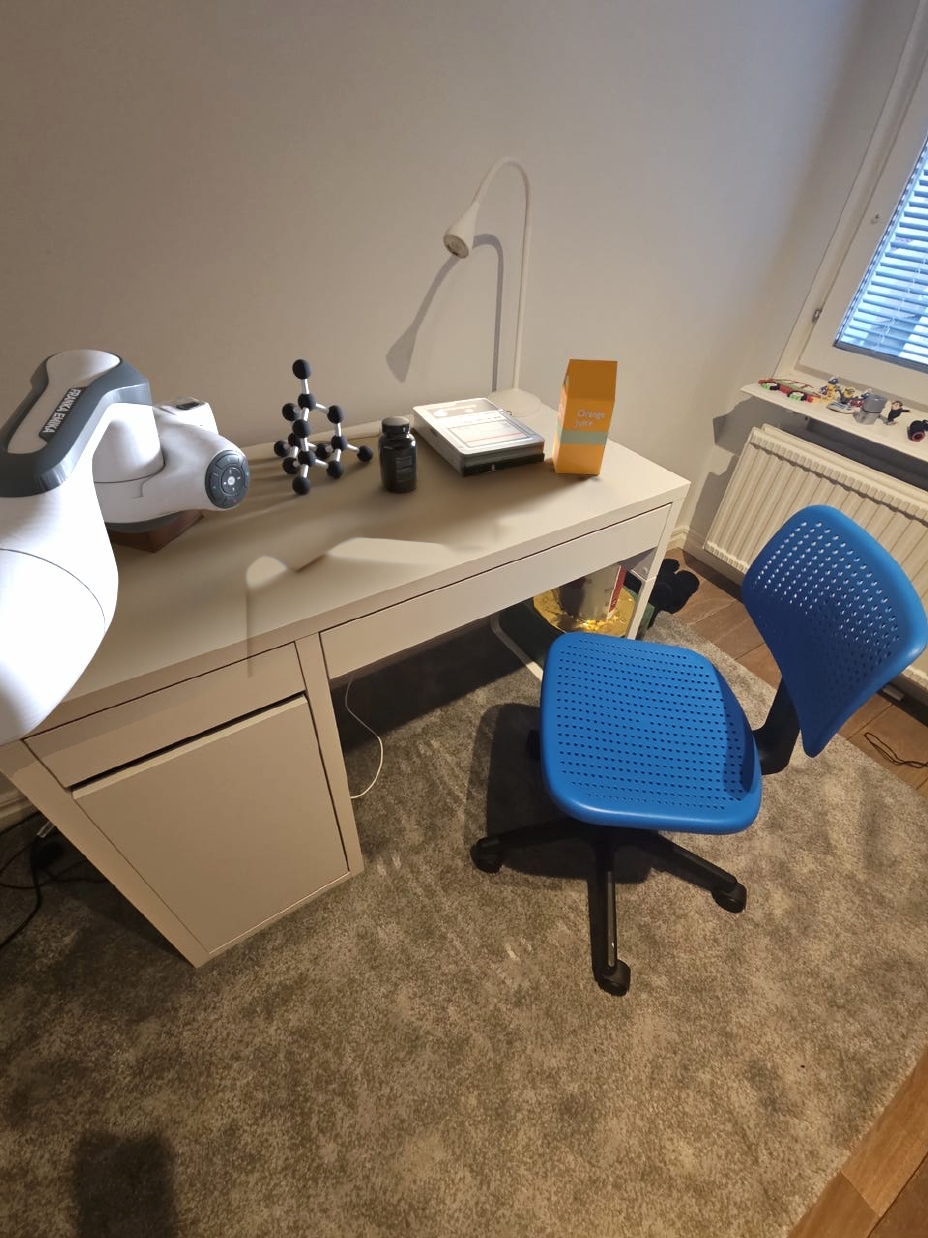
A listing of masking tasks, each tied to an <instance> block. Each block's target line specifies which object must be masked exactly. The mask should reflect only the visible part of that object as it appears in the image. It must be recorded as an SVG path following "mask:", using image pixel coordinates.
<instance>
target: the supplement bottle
mask: <svg viewBox="0 0 928 1238" xmlns="http://www.w3.org/2000/svg"><path fill="white" fill-rule="evenodd" d="M410 432H411V428H410V420H409V419H408V418H406V417H403V416H388V417H385V418H383V419H382V420H381V435H380V436H379V437H378V440H377V444H376V445H377V455H378V469H379V476H380V477H379V478H380V485H381V487H382V488H383V489H384V490H385V491H387V492H389V493H398V494H401V493H407V492H410V491H412V490H414V489H415V488H416V487H417V484H418V460H417V440H416V438H415V436H413V435H412V434H411V433H410Z"/></svg>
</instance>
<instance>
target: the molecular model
mask: <svg viewBox="0 0 928 1238" xmlns="http://www.w3.org/2000/svg"><path fill="white" fill-rule="evenodd" d="M291 370H292V373H293V375H294V377H295V378H296V379H298V380H300V385H301V391H302V392H300V394H298V397H297V404H295V403H293V402H287V403H285V404H284V405H283V406H282V409H281V414H282V417H283V418H284V419H285V420H286V421H287V422H290V423H289V424H290V427H291V433H289V435H288V437H287V441H286V440H282V439H280V440H277V441H276V442H275V443H274V444H273V452H274V454H275V455H276V456H277V457H279V458H284V459H283V461H282V464H281V467H282V470H283V471H284V472H285V473H286V474H288V475H290V476H293V475H294V476H295V475H297V474H298V473H299V472H300V474H299V476H296V477H295V478H293V480H292V482H291V488H292V490H293V492H294V493H296V495H297V494H298V495H300V496H304V495H307V494H308V493H310V491H311V487H312V485H311V482H310V480H309V478H307V474H308V470H309V468H312V467H313V466H317V467H319V468H323V469H325V471H326V474H327V475H328V476H329V477H330V478H333V479H338V478H340V477H342V476H343V474H344V470H345V469H344V465H343V464H342V462H341V461H340V458H341V453H342V452H344V451H348V452H352V453H354V454H356V457H357V459H358V460H359V461H360V462H362V463H369V462H371V461H372V460H373V458H374V451H373V449H372V448H371V447H370V446H369V445H365V444H364V445H360V446H359V447H356V446H353V445H350V444H349V443H348V439H347V438H346V436H345V435H343V434H342V432H341V423H342V422H344V420H345V417H346V416H345V410H344V409H343V408H342V407H341V406H340V405H337V404H332V405H330V406H329V407H327V406H326V407H325V406H323V405H322V404H318V403H317V398H316V397H315V395H313V394H312V393H311V392H310V391H309V386H308V379H309V378H310V377H311V376H312V372H313V368H312V366H311V364H310V363H309V361H308V360H306V359H303V358H299V359H296V360H294V362H293V363H292V366H291ZM314 410H316V411H318V412H320V413H323V414H325V415H326V418H327V419H328V422H330V423H331V424H333V426H334V427H333V428H334V435H333V436H331V439H330V444H329V443H326V442H320V443H318V444H316V445H315V444H312V443H310V442H308V441H307V438H309V436H310V435H311V434H312V426H311V423H310V422H309V421H307V420H308V416H309V412H313V411H314ZM298 450H299V452H298ZM332 451H334V455H333V459H332V460H329V458H331V456H332V453H333V452H332ZM289 455H290V456H289ZM317 458H318V459H317ZM325 460H329V461H328V463H327V462H325ZM300 470H301V471H300Z"/></svg>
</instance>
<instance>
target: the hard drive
mask: <svg viewBox="0 0 928 1238" xmlns="http://www.w3.org/2000/svg"><path fill="white" fill-rule="evenodd" d="M412 409H413V410H412V415H413V416H412V417H413V420H412V421H413V429H414V430H415V432H417V434H419V435H420V436H421V437H422V438H423V439H424V441H426V442H427V443H428V444H429V445H430V446H431V447H432V448H433V449H434V451H436V452H437V453H438V454H439V455H440V456H441V457H442V458H443V459H444V460H445V461H446V462H447V463H448V464H449V465H450V466H451V467H453V468H454V469H455V470H456V471H457V472H458V473H459V474H460V475H461V476H462V477H463V478H465V477H470V476H475V475H481V474H487V473H491V472H497V471H502V470H507V469H512V468H518V467H519V468H520V467H523V466H529V465H534V464H539V463H540V464H541V463H544V462H545V458H546V453H545V452H544V450H545V442H546V440H545V438H544V437H543V436H541V435H540V434H538V433H537V432H536V431H534V430H533V429H531V428H530V427H528V426H527V425H525V424H524V423H523V422H521V421H520V420H518V419H517V418H515V417H514V416H513V415H511V413H508V412H507V411H505V410H504V409H503V408H501V407H500V406H498V405H497V404H496V403H494V402H493V401H492V400H490V399H488V398H486V397H477V398H476V397H475V398H469V399H461V400H454V401H447V402H446V401H445V402H439V403H430V404H424V405H417V406H412Z"/></svg>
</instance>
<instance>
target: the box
mask: <svg viewBox="0 0 928 1238" xmlns="http://www.w3.org/2000/svg"><path fill="white" fill-rule="evenodd" d="M204 518H205V515H204V512H203V509H191V510H188V511H187V512H185V513H184V514H183V515H181V516H180V517H179V518H177V519H176V520H174V521H173V522H171V523H169V524H167V525H165V526H163V527H160V528H158V529H155V530H151V531H147V532H141V533H123V532H118V531H114V530H110V529H107V528H106V531H107V534H108V538H109V541H110V544H115V545H119V546H123V547H128V548H132V549H136V550H141V551H145V552H148V553H149V552H150V553H154V554H157V553H158V552H159V551H161V549H163V548H164V547H165V546H167V545H168V544H170V543H171V542H172V541H174V540H175V539H176V538H178V537H179V536H180V535H183V533H184V532H186V531H187V530H189V529H190V528H191V527H193V526H194V525H196V524H198V522H200V521H201V520H202V519H204Z"/></svg>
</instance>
